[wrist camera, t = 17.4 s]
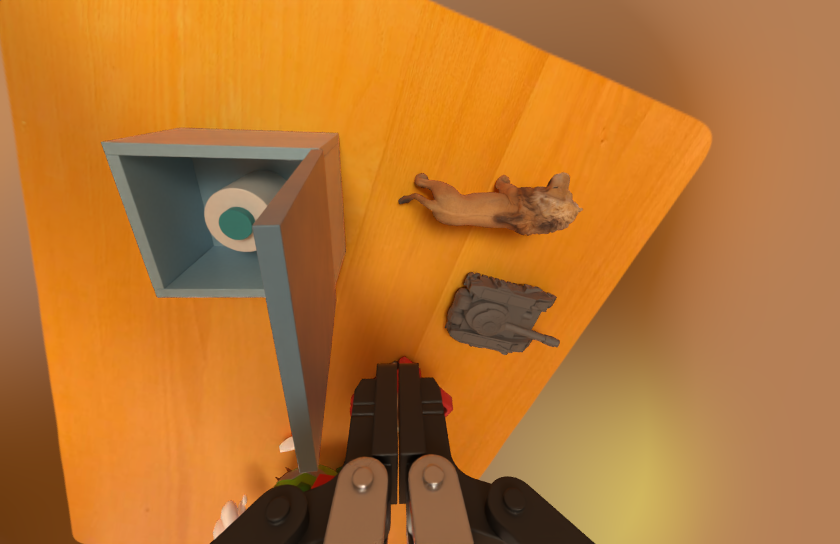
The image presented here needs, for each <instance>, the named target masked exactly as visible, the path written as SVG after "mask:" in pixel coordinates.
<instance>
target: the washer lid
mask: <svg viewBox="0 0 840 544" xmlns="http://www.w3.org/2000/svg"><path fill="white" fill-rule="evenodd" d="M252 230H253V235H254V240H255V246H256V251H257V256H258V261H259V266H260V271H261V277H262V282H263V287H264V292H265V297H266V302H267V308H268V313H269V318H270V323H271V328H272V334H273V339H274V344H275V349H276V354H277V359H278V365H279V370H280V375H281V380H282V385H283V390H284V396H285V401H286V406H287V411H288V416H289V421H290V427H291V432H292V437H293V442H294V447H295V452H296V458H297V463H298V468H299V473H306V472H314V471H318V464H319V455H320V446H321V436H322V427H323V418H324V409H325V400H326V390H327V381H328V372H329V363H330V354H331V344H332V335H333V326H334V317H335V308H336V290H335V279H334V267H333V255H332V243H331V231H330V220H329V208H328V196H327V184H326V172H325V160H324V150H314V149H312V150H311V151H310V152H309V153H308V154H307V156H306V157H305V158H304V160H303V161H302V162H301V163H300V165H299V166H298V167H297V169H296V170H295V171H294V172H293V174H292V175H291V176H290V178H289V179H288V180H287V181H286V183H285V184H284V185H283V187H282V188H281V189H280V190H279V192H278V193H277V194H276V196H275V197H274V198H273V199H272V201H271V202H270V203H269V205H268V206H267V207H266V208H265V210H264V211H263V212H262V214H261V215H260V216H259V217H258V219H257V220H256V221H255V223H254V224H253V225H252Z"/></svg>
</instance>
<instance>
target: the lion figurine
mask: <svg viewBox="0 0 840 544" xmlns="http://www.w3.org/2000/svg"><path fill="white" fill-rule="evenodd" d="M569 182H570V177H569V175H568V174H567V173H561V174H556V175H554V176H553V177H552V178H551V180H550V181H549V183H548V185H547V187H535V188H531V187H521V188H517V187H516V186H514V185H512V184H510V180H509V177H507V176H505V175H503V176H501V177H500V178H499V179H498V180H497V181H496V185H495V187H496V188H497V189H498V190H499V193H495V192H489V193H472V194H468V195H462V194H460V193H459V192H458V191H457V190H456V189H455V188H454V187H452V186H451V185H448V184H447V183H444V182H441V181H435V180H429V179H428V177H427V175H425V174H424V173H420V174H418V175H417V176H416V177H415V184H416V185H417V186H418V187H421V188H428V189H429V190H431V191H432V193H433V197H434V200H428V199H426V198H424V197H423V196H421V195H419V194H416V193H414V194H411V195H409V196H403V197H402V198H400V199H399V200H398V202H399V204H403V203H408V202H410V201H411V200H413V199H416V200H418V201H419V202H420V203H421V204H423V205H424V206H426V207H427V208H428V209H430V210H431V211H432V212H433V215H434V217H435V218H436V220H438V221H439V222H441V223H443V224H447V225H454V226H461V225H473V226H480V227H487V228H508V229H510V230H514V231H515V232H516V233H519V234H521V235H525V234H526V235H527V236H529V235H531V234H549V233H550V232H552V233H553V232H555V231H556V230H563V229H565V228H567V227H568V225H569V224H570V223H572V222H573V221H574V220H575V218H576V216H577V214H578V212H580V211H582V210H583V209H582V208H579V207H578V204H576V202H574V201H573V199H572V193H571V192H570V191H569V190H568V186H569Z"/></svg>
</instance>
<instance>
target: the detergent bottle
mask: <svg viewBox="0 0 840 544" xmlns="http://www.w3.org/2000/svg"><path fill="white" fill-rule="evenodd" d="M285 183H286V180H285V179H284V178H283V177H281V176H280V175H278V174H276V173H274V172H271V171H267V170H257V171H253V172H250V173H248V174H247V175H245V176H243V177H241V178H240V179H238V180H236V181H234V182H233V183H231V184H229V185H228V186H226V187H224V188H222V189H221V190H219V191H217V192H216V193H214V194H213V195H212V196H211V197H210V198H209V199H208V201H207V203H206V206H205V211H204V217H205V222H206V225H207V227H208V229H209V231H210V232H211V234H212V235H213V236H214V237H215V238H216V239H217V240H218V241H219V242H220V243H222V244H223V245H225V246H226V247H228V248H231V249H233V250H236V251H241V252H252V251H256V246H255V240H254V235H253V230H252V225H253V224H254V223H255V221H256V220H257V219H258V217H259V216H260V215H261V214H262V212H263V211H264V210H265V208H266V207H267V206H268V205H269V203H270V202H271V201H272V199H273V198H274V197H275V196H276V194H277V193H278V192H279V190H280V189H281V188H282V187H283V185H284V184H285Z"/></svg>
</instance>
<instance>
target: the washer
mask: <svg viewBox="0 0 840 544" xmlns="http://www.w3.org/2000/svg"><path fill="white" fill-rule="evenodd" d="M101 144H102V147H103V150H104V152H105V155H106V158H107V161H108V163H109V166H110V169H111V172H112V174H113V177H114V180H115V183H116V186H117V188H118V191H119V194H120V197H121V199H122V202H123V205H124V208H125V211H126V213H127V216H128V219H129V222H130V224H131V227H132V230H133V233H134V235H135V238H136V241H137V244H138V247H139V249H140V252H141V255H142V258H143V260H144V263H145V266H146V269H147V272H148V274H149V277H150V280H151V283H152V285H153V288H154V290H155V293H156V296H157V297H265V292H264V287H263V282H262V277H261V271H260V266H259V261H258V256H257V251H252V252H241V251H236V250H233V249H231V248H228V247H226V246H225V245H223V244H222V243H220V242H219V241H218V240H217V239H216V238H215V237H214V236H213V235H212V234H211V232H210V231H209V229H208V227H207V225H206V222H205V217H204V211H205V206H206V203H207V201H208V199H209V198H210V197H211V196H212V195H213V194H214V193H216V192H217V191H219V190H221V189H222V188H224V187H226V186H228V185H229V184H231V183H233V182H234V181H236V180H238V179H240V178H241V177H243V176H245V175H247V174H248V173H250V172H253V171H257V170H267V171H271V172H274V173H276V174H278V175H280V176H281V177H283V178H284V179H285V180H286V181H287V180H288V179H289V178H290V176H291V175H292V174H293V172H294V171H295V170H296V169H297V167H298V166H299V165H300V163H301V162H302V161H303V160H304V158H305V157H306V156H307V154H308V153H309V152H310V151H311V150H312V149H314V150H324V160H325V172H326V184H327V196H328V208H329V220H330V231H331V243H332V255H333V267H334V279H335V285H336V282H337V279H338V275H339V272H340V269H341V265H342V262H343V259H344V255H345V252H346V243H345V228H344V212H343V197H342V181H341V166H340V150H339V135H338V133H323V132H293V131H263V130H233V129H203V128H176V129H170V130H165V131H159V132H154V133H148V134H143V135H137V136H131V137H126V138H120V139H115V140H109V141H104V142H101Z"/></svg>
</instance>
